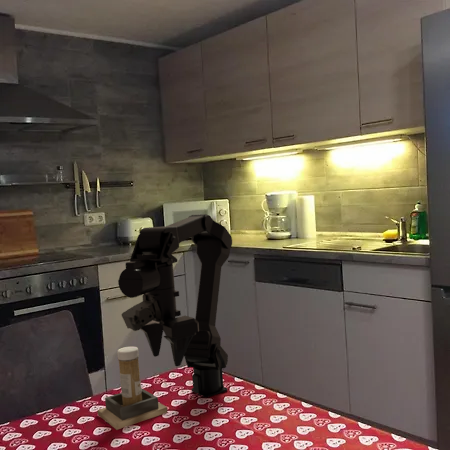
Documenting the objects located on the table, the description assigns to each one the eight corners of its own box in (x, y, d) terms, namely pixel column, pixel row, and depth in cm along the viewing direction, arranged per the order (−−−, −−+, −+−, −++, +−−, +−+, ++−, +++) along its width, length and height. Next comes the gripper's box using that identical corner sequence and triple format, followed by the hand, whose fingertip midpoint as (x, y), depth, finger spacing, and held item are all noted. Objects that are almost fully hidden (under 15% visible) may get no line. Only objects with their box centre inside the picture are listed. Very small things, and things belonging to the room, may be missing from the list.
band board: (146, 399, 128) (145, 384, 128) (167, 412, 120) (166, 396, 120) (97, 415, 121) (96, 399, 121) (116, 429, 113) (115, 412, 113)
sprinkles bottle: (146, 408, 120) (141, 348, 119) (127, 414, 118) (122, 353, 117) (138, 402, 124) (132, 344, 123) (119, 408, 122) (113, 348, 121)
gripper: (106, 288, 117) (112, 360, 118) (146, 300, 101) (153, 382, 102) (152, 280, 123) (158, 348, 124) (197, 290, 108) (203, 367, 109)
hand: (166, 360), depth 115 cm, fingers open, 9 cm apart
